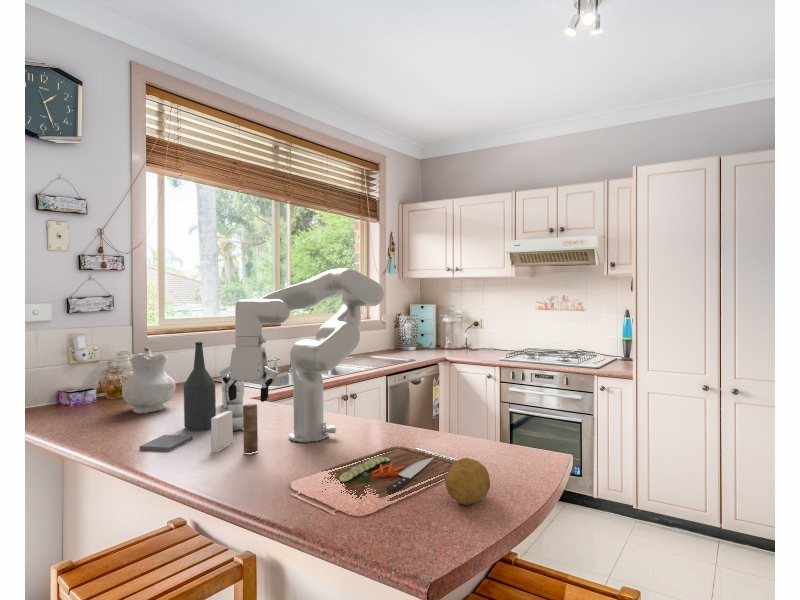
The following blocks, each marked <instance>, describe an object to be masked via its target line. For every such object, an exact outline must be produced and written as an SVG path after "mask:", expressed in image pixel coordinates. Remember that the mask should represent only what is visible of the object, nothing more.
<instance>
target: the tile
mask: <svg viewBox="0 0 800 600" xmlns="http://www.w3.org/2000/svg"><path fill="white" fill-rule="evenodd" d="M233 432H234V431H233V429H232V411H223V412H221V413H220V414H216V416H215V417H213V418H211V429H210V434H211V435H210V440H211V443H210V444H211V445H210V446H211V452H212V451H219V450H220V449H222V448H224V447H225V446H227V445H228V444H230V443H232V442H233V439H234V437H233V435H234V433H233ZM232 444H233V443H232ZM230 445H231V444H230ZM228 446H229V445H228ZM228 446H227V447H228ZM225 448H226V447H225ZM225 448H224V449H225ZM222 450H223V449H222ZM220 451H221V450H220ZM220 451H219V452H220Z"/></svg>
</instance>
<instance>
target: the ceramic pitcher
mask: <svg viewBox="0 0 800 600" xmlns="http://www.w3.org/2000/svg"><path fill="white" fill-rule="evenodd" d="M143 351H144V352H139V353H136V354H133V357H129V361H130V364H131V367H132V370H133V371H132V372H133V373H132V375H130V377H129V378H127V379H126V381H124V382H123V384H122V386H121V394H122V398H123V400H124V402H126V404H128V405H129V406H131V407H134V409H133V410H132V412H133V413H135V412H136V413H145V414H149V413H152V412H157V411H164V410H165V409H166V407H165V405H164V404H166V403H168V402H169V401H170V400H171V399H172V398H173V396H174V394H175V391H176V381H175V380H174V379H173V377H171V376H170V375H168V373H166V369H165V368H166V367H165V366H166V362H167V360H168V355H167V354H166V355H165V354H164V353H163V352H158V353H157V354H155V355H152V350H151V348H150V347H147V346H145V347H144V348H143ZM148 412H149V413H148ZM136 413H135V414H136Z"/></svg>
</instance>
